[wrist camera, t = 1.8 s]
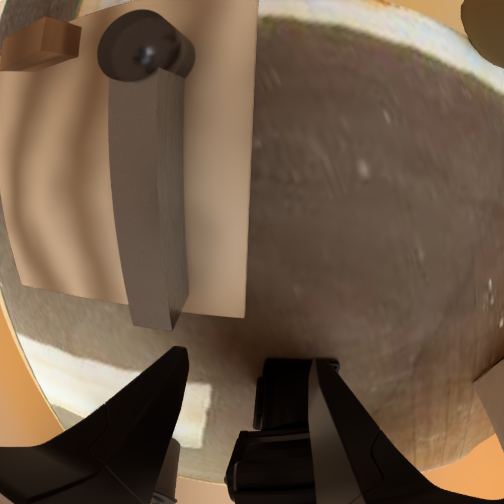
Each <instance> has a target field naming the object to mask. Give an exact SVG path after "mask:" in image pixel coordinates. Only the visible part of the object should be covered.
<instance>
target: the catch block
mask: <svg viewBox="0 0 504 504" xmlns="http://www.w3.org/2000/svg"><path fill="white" fill-rule="evenodd" d="M81 30H82V27H80V26H77V25H74V24H71V23H68V22H64V21H61V20H58V19H54V18H51V17H47V16H45V17H43V18H41V19H39V20H37V21H35V22H34V23H32V24H30V25H28V26H26V27H24V28H23V29H21V30H19V31H17V32H16V33H14V34H12V35H11V36H9V37H7V38H6V39H4V40H3V45H2V52H1V59H0V71H20V72H38V71H40V70H43V69H45V68H48V67H50V66H53V65H56V64H59V63H62V62H64V61H67V60H70V59H74V58H77V57H78V55H79V46H80V37H81Z"/></svg>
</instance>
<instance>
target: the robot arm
mask: <svg viewBox="0 0 504 504" xmlns="http://www.w3.org/2000/svg"><path fill="white" fill-rule="evenodd" d="M333 366H334V367H333ZM339 369H340V364H339V362H338V361H328V360H327V359H326V358H314V359H313V360H289V359H271V358H270V359H266V360H265V361H264V369H263V377H259V378H258V379H257V387H256V398H255V409H254V420H253V428H254V429H255V430H260V431H240V434H239V437H238V439H237V441H236V444H235V447H234V450H233V453H232V456H231V459H230V462H229V465H228V468H227V471H226V476H225V478H224V482H225V484H226V485H227V487H228V492H229V495H230V498H231V500H232V501H233V502H235V504H504V498H503V499H499V500H486V499H481V498H476V497H471V496H467V495H463V494H459V493H455V492H451V491H447V490H444V489H441V488H439V487H437V486H435V485H434V484H432V483H431V482H430V481H429V480H427V478H425V477H424V476H423V475H422V474H421V473H420V472H419V471H418V470H417V469H416V468H415V467H414V466H413V465H412V464H411V463H410V462H409V461H408V460H407V459H406V458H405V457H404V456H403V455H402V454H401V453H400V452H399V451H398V450H397V448H396V447H395V446H394V445H393V444H392V443H391V441H390V440H389V439H388V438H387V436H386V435H385V434H384V433H383V431H382V430H380V428H379V426H378V425H377V424H376V422H375V421H374V420H373V418H372V417H371V416H370V415H369V413H368V412H367V411H366V409H365V408H364V407H363V405H362V404H361V403H360V402H359V400H358V399H357V398H356V396H355V395H354V394H353V392H352V391H351V390H350V389H349V387H348V386H347V385H346V383H345V382H344V381H343V379H342V378H341V377H340V376H339V374H338V372H339ZM188 372H189V359H188V352H187V349H186V348H185V347H181V346H174V347H172V348H171V349H170V350H169V351H167V352H166V353H165V354H164V355H163V356H161V357H160V358H159V359H158V360H157V361H155V362H154V363H153V364H152V365H151V366H149V367H148V368H147V369H146V370H145V371H143V372H142V373H141V374H140V375H139V376H137V377H136V378H135V379H134V380H132V381H131V382H130V383H129V384H128V385H126V386H125V387H124V388H123V389H121V390H120V391H119V392H118V393H117V394H115V395H114V396H113V397H112V398H110V399H109V400H108V401H107V402H106V403H105V404H103V405H102V406H100V407H99V408H98V409H97V410H95V411H94V412H93V413H91V414H90V415H89V416H87V417H86V418H85V419H83V420H82V421H80V422H79V423H77V424H76V425H74V426H72V427H71V428H69V429H68V430H66V431H64V432H63V433H61V434H60V435H58V436H56V437H54V438H53V439H51V440H50V441H47V442H45V443H43V444H41V445H37V446H32V447H0V504H150V503H151V500H152V496H153V493H154V490H155V487H156V484H157V481H158V478H159V475H160V471H161V468H162V465H163V462H164V459H165V456H166V453H167V450H168V447H169V444H170V441H171V438H172V435H173V432H174V429H175V426H176V423H177V420H178V417H179V414H180V410H181V407H182V402H183V397H184V392H185V387H186V382H187V377H188Z"/></svg>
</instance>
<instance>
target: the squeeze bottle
mask: <svg viewBox="0 0 504 504" xmlns="http://www.w3.org/2000/svg"><path fill="white" fill-rule="evenodd" d="M461 20H462V23H463V26H464V29H465V32H466V33H467V35H468V37H469V39H470V41H471V42H472V44H473V46H474V47H475V48H476V49H477V50H478V52H479V53H480V54H481V55H482V56H483V57H484V58H485V59H486V60H488V61H489V62H491V63H492V64H493V65H496V66H498V67H501V68H504V0H464V2H463V4H462V5H461Z"/></svg>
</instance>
